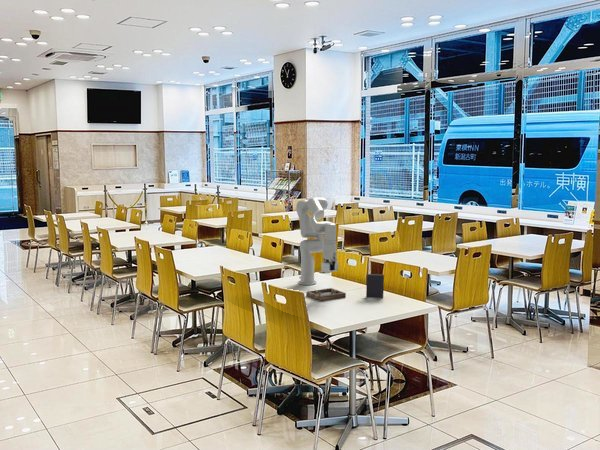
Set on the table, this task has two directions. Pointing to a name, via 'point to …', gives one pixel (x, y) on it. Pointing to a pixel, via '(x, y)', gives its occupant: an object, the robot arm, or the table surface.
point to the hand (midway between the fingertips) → (329, 269)
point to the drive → (328, 266)
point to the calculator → (375, 285)
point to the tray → (325, 294)
